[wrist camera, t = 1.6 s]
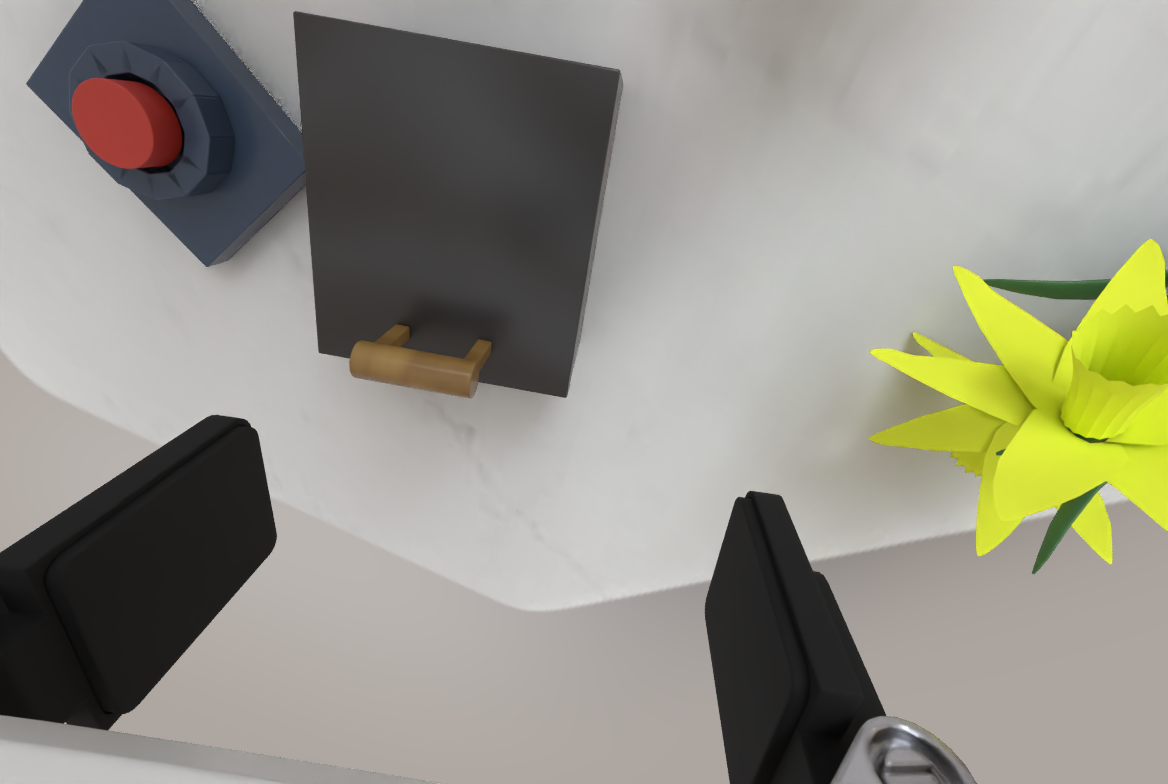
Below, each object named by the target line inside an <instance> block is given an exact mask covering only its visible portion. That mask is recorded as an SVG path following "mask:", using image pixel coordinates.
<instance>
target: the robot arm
mask: <svg viewBox="0 0 1168 784" xmlns="http://www.w3.org/2000/svg"><path fill="white" fill-rule="evenodd" d="M276 539H277V534H276V528H275V522H274V517H273V511H272V507H271V501H270V495H269V490H268V485H267V479H266V474H265V468H264V463H263V458H262V452H261V447H260V442H259V436H258V433H257V431H256V430H255V429H254V428H252V427H251V425H250V423H249V422H248V421H247V420H245V419H241V418H234V417H227V416H220V415H211V416H209V417H206V418H205V419H203V420H202V421H200V422H199V423H197V424H196V425H194V426H193V427H191V428H190V429H188V430H187V431H185V432H184V433H182V434H181V435H179V436H177V437H176V438H174V439H173V440H171V441H170V442H168V443H167V444H165V445H164V446H162V447H161V448H159V449H158V450H156V451H155V452H153V453H152V454H150V455H149V456H147V457H146V458H144V459H143V460H141V461H139V462H138V463H136V464H135V465H133V466H132V467H130V468H129V469H127V470H126V471H124V472H123V473H121V474H120V475H118V476H116V477H115V478H113V479H112V480H110V481H109V482H107V483H106V484H104V485H103V486H101V487H100V488H98V489H97V490H95V491H94V492H92V493H91V494H89V495H88V496H86V497H84V498H83V499H82V500H80V501H78V502H77V503H76V504H74V505H72V506H71V507H69V508H68V509H67V510H65V511H63V512H62V513H60V514H58V515H57V516H55V517H54V518H53V519H51V520H49V521H48V522H46V523H45V524H43V525H42V526H40V527H39V528H37V529H36V530H34V531H33V532H31V533H30V534H28V535H26V536H25V537H23V538H22V539H20V540H19V541H17V542H16V543H14V544H13V545H11V546H10V547H8V548H7V549H5V550H4V551H2V552H1V553H0V784H443V783H437V782H432V781H425V780H419V779H413V778H407V777H401V776H394V775H388V774H381V773H376V772H369V771H363V770H357V769H351V768H344V767H338V766H332V765H326V764H319V763H312V762H307V761H300V760H294V759H288V758H281V757H275V756H268V755H262V754H256V753H249V752H243V751H237V750H231V749H225V748H218V747H212V746H205V745H199V744H192V743H186V742H179V741H173V740H165V739H160V738H153V737H146V736H139V735H133V734H127V733H120V732H114V731H108V730H109V728H110V727H111V726H112V725H113V724H114V723H115V722H116V721H117V720H118V718H119V717H120V716H121V715H122V714H125V713H129V712H130V711H132V710H133V709H134V708H135V707H136V706H138V705H139V704H140V702H141V701H142V700H143V699H144V698H145V697H146V696H147V694H148V693H149V692H150V691H151V690H152V688H154V686H155V685H156V684H157V683H158V682H159V681H160V680H161V678H162V677H163V676H164V675H165V674H166V673H167V672H168V670H169V669H170V668H171V667H172V666H173V665H174V663H175V662H176V661H177V660H178V659H179V658H180V657H181V655H182V654H183V653H184V652H185V651H186V650H187V649H188V647H189V646H190V645H191V644H192V643H193V642H194V641H195V639H196V638H197V637H198V636H199V635H200V634H201V633H202V631H203V630H204V629H205V628H206V627H207V625H209V623H210V622H211V621H212V620H213V619H214V618H215V616H216V615H217V614H218V613H219V612H220V611H221V610H222V608H223V607H224V606H225V605H226V604H227V603H228V602H229V600H230V599H231V598H232V597H233V596H234V595H235V593H236V592H237V591H238V590H239V589H240V588H241V587H242V586H243V584H244V583H245V582H246V581H247V580H248V579H249V577H250V576H251V575H252V574H253V573H254V572H255V570H256V569H257V568H258V567H259V566H260V565H261V564H262V563H263V561H264V560H265V559H266V558H267V557H268V556H269V555H270V553H271V552H272V550H273V548H274V546H275V543H276ZM705 620H706V626H707V634H708V640H709V646H710V654H711V660H712V667H713V674H714V680H715V687H716V694H717V700H718V707H719V714H720V720H721V727H722V733H723V740H724V746H725V753H726V759H727V767H728V773H729V780H730V784H977V783H976V781H975V780H974V778H973V777H972V775H971V773H970V771H969V770H968V768H967V767H966V766H965V764H964V763H963V762H962V761H961V760H960V759H959V757H958V756H957V755H956V754H955V753H954V752H953V751H952V749H951V748H949V747H948V746H947V745H946V744H945V743H943V742H942V741H941V740H940V739H939V738H937V737H936V736H935V735H934V734H932V733H930V732H929V731H927V730H925V729H924V728H922V727H920V726H918V725H917V724H915V723H913V722H910V721H907V720H904V719H901V718H898V717H890V716H886V714H885V712H884V709H883V707H882V705H881V703H880V700H879V698H878V695H877V693H876V691H875V689H874V686H873V684H872V682H871V679H870V677H869V675H868V673H867V670H866V668H865V666H864V664H863V661H862V659H861V657H860V654H859V652H858V650H857V648H856V645H855V643H854V641H853V639H852V636H851V634H850V632H849V629H848V627H847V625H846V622H845V620H844V618H843V616H842V613H841V611H840V609H839V606H838V604H837V602H836V600H835V598H834V595H833V593H832V591H831V588H830V586H829V584H828V582H827V580H826V579H825V577H824V575H822V574H821V573H820V572H815V571H813V570H812V568H811V566H810V563H809V561H808V558H807V556H806V554H805V551H804V549H803V546H802V544H801V541H800V539H799V537H798V534H797V532H796V529H795V527H794V525H793V522H792V520H791V517H790V515H789V513H788V510H787V508H786V505H785V503H784V500H783V499H782V497H781V496H780V495H776V494H769V493H762V492H755V491H749V492H748V493H747V495H746V497H745V498H743V497H738V498H737V499H736V500H735V503H734V506H733V510H732V513H731V516H730V520H729V523H728V526H727V530H726V533H725V537H724V540H723V543H722V547H721V550H720V553H719V557H718V560H717V564H716V567H715V570H714V574H713V577H712V580H711V584H710V587H709V591H708V594H707V598H706V603H705ZM65 722H66V723H67V724H64V723H65Z"/></svg>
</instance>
